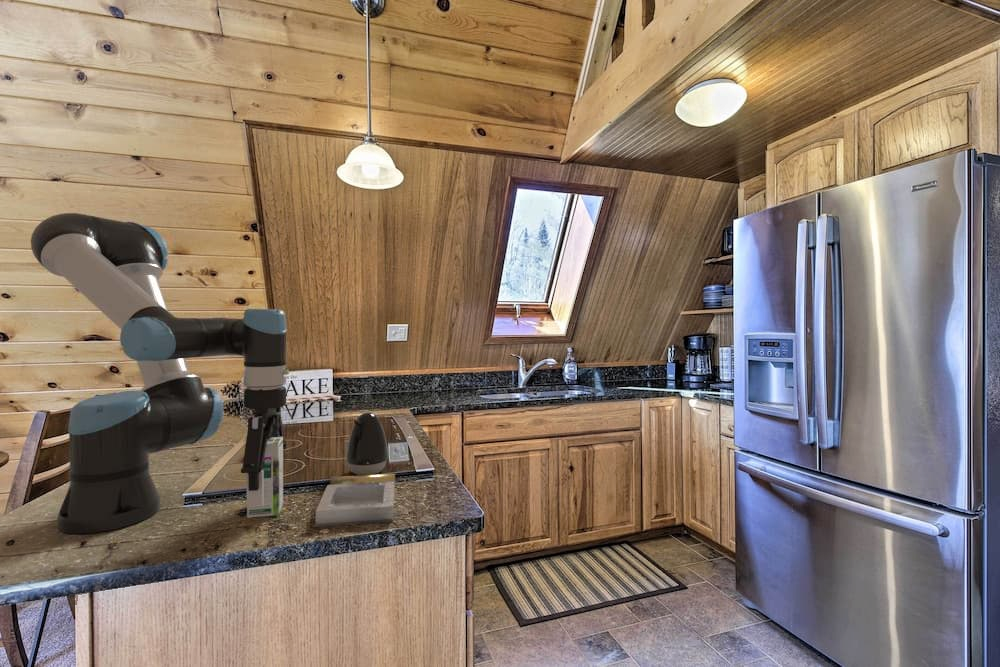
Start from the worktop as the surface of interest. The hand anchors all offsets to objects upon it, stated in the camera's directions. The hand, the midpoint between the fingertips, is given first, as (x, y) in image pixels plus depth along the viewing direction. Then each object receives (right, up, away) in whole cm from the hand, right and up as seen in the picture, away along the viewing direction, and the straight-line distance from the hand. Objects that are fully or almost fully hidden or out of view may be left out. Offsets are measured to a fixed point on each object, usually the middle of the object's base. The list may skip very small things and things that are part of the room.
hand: (265, 493), depth 95 cm
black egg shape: (+13, -3, +24) cm, 28 cm away
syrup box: (0, -4, 0) cm, 4 cm away
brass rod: (+16, -4, +13) cm, 21 cm away
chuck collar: (+18, -4, +2) cm, 19 cm away
